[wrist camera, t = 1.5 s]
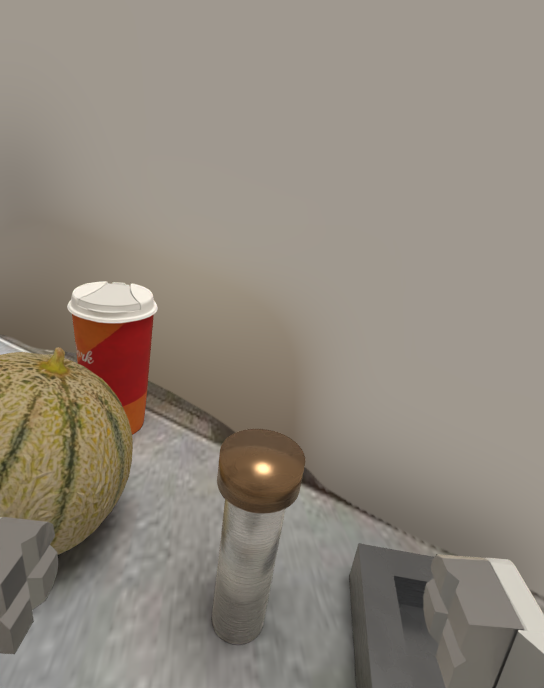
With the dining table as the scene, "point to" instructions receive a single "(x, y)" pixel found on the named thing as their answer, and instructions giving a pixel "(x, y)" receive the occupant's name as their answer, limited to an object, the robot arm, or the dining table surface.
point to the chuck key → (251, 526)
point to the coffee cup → (116, 339)
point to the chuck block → (392, 620)
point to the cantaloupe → (60, 445)
